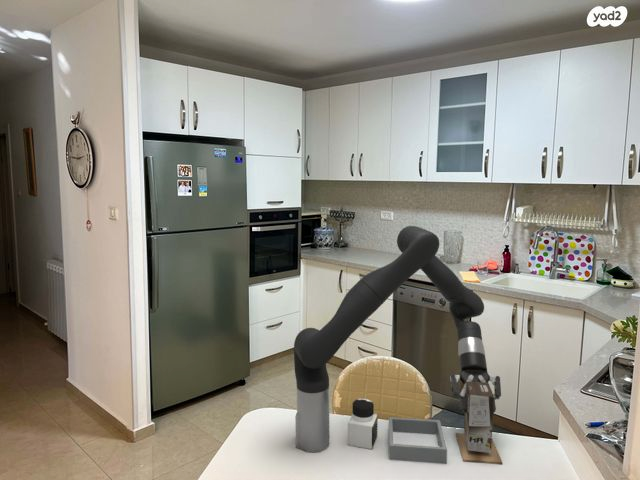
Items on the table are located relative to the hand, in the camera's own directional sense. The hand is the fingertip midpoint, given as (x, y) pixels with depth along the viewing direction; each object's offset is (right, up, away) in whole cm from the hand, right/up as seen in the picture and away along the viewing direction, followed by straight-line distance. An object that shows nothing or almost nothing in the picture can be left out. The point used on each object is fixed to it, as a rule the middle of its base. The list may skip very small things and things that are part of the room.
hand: (478, 412), depth 125 cm
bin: (-17, -10, +3) cm, 20 cm away
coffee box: (0, -9, +1) cm, 9 cm away
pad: (0, -11, +1) cm, 11 cm away
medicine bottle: (-32, -10, +5) cm, 34 cm away
